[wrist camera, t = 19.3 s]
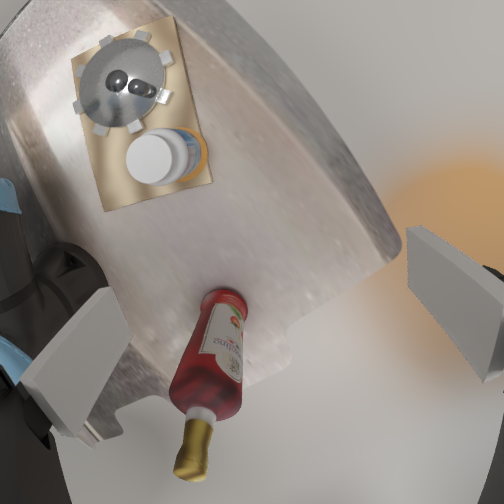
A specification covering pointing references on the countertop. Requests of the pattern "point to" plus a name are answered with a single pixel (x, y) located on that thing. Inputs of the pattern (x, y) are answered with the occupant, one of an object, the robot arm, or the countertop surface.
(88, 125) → the board
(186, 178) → the seat pad
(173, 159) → the pill bottle
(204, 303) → the liquor
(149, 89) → the sprocket disc
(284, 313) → the countertop surface
